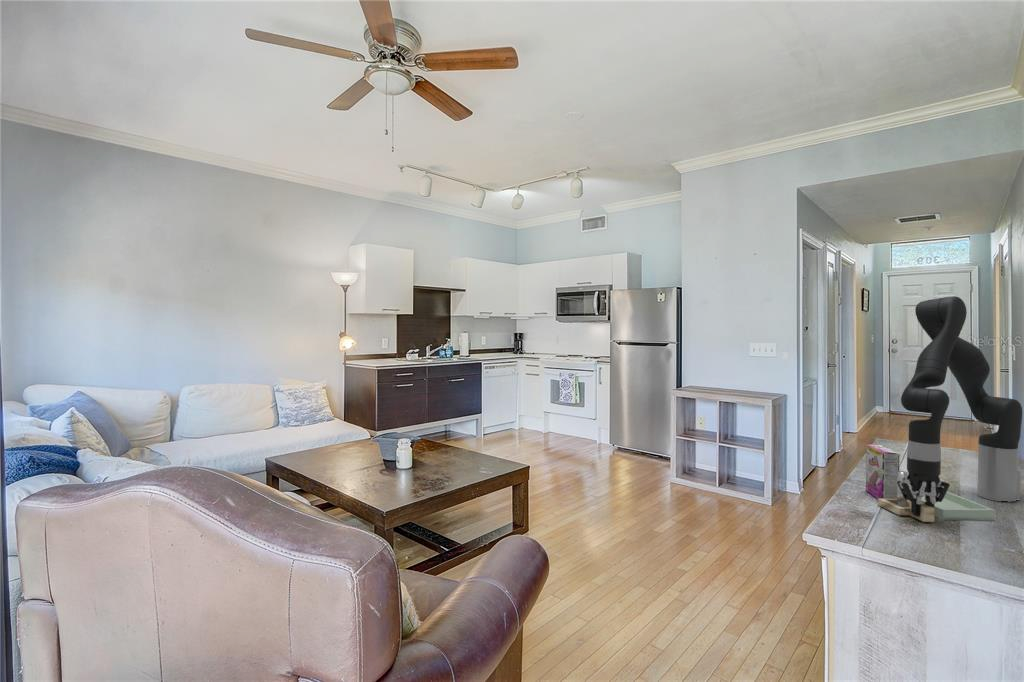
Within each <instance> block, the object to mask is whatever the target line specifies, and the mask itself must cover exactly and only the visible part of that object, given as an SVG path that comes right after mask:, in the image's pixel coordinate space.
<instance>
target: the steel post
mask: <svg viewBox="0 0 1024 682" xmlns="http://www.w3.org/2000/svg"><path fill="white" fill-rule="evenodd" d="M907 476H908V471H904V470H899V471H898V481H904V480H906V479H907ZM898 481H897V482H898ZM897 505H898V506H900V507H907V500H906V499H904V497H903V495H902V493H901V490H900V488H899V486H898V484H897Z"/></svg>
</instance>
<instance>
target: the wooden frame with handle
mask: <svg viewBox="0 0 1024 682" xmlns="http://www.w3.org/2000/svg"><path fill="white" fill-rule="evenodd" d="M920 504H921V516H920V517H917V516H915V515H913V513H912V512H911V502H910V501H908V500H907V507H900V506H898V505H897V499H881V498H878V499H877V506H879V507H881V508H883V509H885V510H888V511H890V512H892V513H894V514H896V515H898V516H910V517H912V518H915V519H917V520H919V521H921V522H923V523H925V522H926V523H929V522H931V523H935V516H934V508H933V507H930V506H928V505H926V504H924V503H920Z"/></svg>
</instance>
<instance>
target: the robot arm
mask: <svg viewBox="0 0 1024 682" xmlns="http://www.w3.org/2000/svg"><path fill="white" fill-rule="evenodd" d="M914 313H915V316H916V320H917V321H918V323H919V325H920V326H921V328H922V329H923V331H925V333H926V334H927V336H928V337H929V338H930V340H931V342H930V343H929V344H927V345H926V347H925V348H923V350H922V351H921V352H920V354H919V355H918V358H917V362H916V364H915V365H916V367H915V370H914V374H913V377H912V378H911V380H910V382H909V383H908V384H907V386H906V387H905V388H904V390H903V392H902V394H901V396H900V403H901V405H902V407H903V409H905V410H906V411H909V412H914V413H924V414H925V413H926V414H930V417H929V418H927V419H915V420H911V421H910V422H909V424H908V442H907V447H906V449H907V450H906V470H907V473H908V476H907V479H906V480H904V481H898V482H897V484H898V486H899V488H900V490H901V493H902V495H903V497H904V499H906V500H908V501H910V502H911V512H912V513H913V515H915V516H917V517H920V516H921V504H920V503H921V498H922V497H923V496H925V501H926V502H925V504H926V505H928V506H930V507H933V508H934V505H935V504H936V502H942V500H943V498H944V496H945V494H946V492H948V490H949V488H950V483H949V482H946V481H943V480H941V479H940V476H941V473H942V471H941V469H942V467H941V466H942V465H941V464H942V449H941V430H942V429H941V427H942V423H943V420H944V417H945V415H946V412H947V411H948V408H949V405H950V397H949V394H948V393H947V392H946V391H945V390H942V389H937V388H934V387H939V386H942V385H943V384H944V383H945V382H946V377H947V372H948V369H949V370H950V372H951V374H952V375H953V377H954V378H955V380H956V381H957V383H958V385H959V387H960V388H961V391H962V393H963V395H964V396H965V399H966V402H967V404H968V407H969V410H970V412H971V413H972V415H973V417H974V418H975V419H976V420H977V421H978V422H980V423H982V424H987V425H988V424H989V425H992V426H993V425H994V426H998V429H997V431H996V432H993V433H985V434H981V435H979V437H978V449H977V450H978V451H977V452H978V455H977V456H978V457H977V485H976V486H977V490H976V494H977V496H978V497H981V498H984V499H987V500H991V501H996V502H1001V501H1008V502H1007V503H1010V502H1009V501H1015V500H1017V499H1020V500H1021V471H1019V470H1018V466H1019V465H1018V463H1019V462H1018V458H1019V457H1018V456H1019V453H1018V452H1019V442H1020V439H1021V432H1022V431H1021V430H1022V421H1023V407H1022V404H1021V403H1020V402H1019V400H1017V399H1015V398H1010V397H1002V396H1001V397H999V396H991V395H989V394H988V393H987V392H986V390H985V388H984V386H985V385H984V384H985V383H986V381H987V379H988V377H989V375H990V372H991V367H990V365H989V362H988V360H987V359H986V357H985V355H984V353H983V352H982V350H980V348H979V347H977V346H976V345H974V344H972V343H971V342H969V341H967V340H965V339H963V338H961V337H960V334H961V331H962V329H963V328H964V325H965V322H966V319H967V306H966V303H965V302H964V300H963V299H962V298H961V297H959V296H955V295H953V296H945V297H944V296H943V297H939V298H933V299H927V300H922V301H920V302H918V303H917V304H916V305H915V312H914ZM916 491H918V492H916ZM939 493H940V494H939ZM938 494H939V496H938ZM937 496H938V497H937Z"/></svg>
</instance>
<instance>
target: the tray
mask: <svg viewBox="0 0 1024 682" xmlns="http://www.w3.org/2000/svg"><path fill="white" fill-rule="evenodd" d="M916 492H918V491H916ZM939 494H940V493H939ZM939 494H938V496H939ZM938 496H937V497H938ZM925 502H926V501H925V496H923V497H922V498H921V503H924V504H925ZM934 518H937V519H940V520H941V521H996V509H993V508H990V507H988V506H987V505H983V504H981V503H978V502H975V501H972V500H971V499H968V498H966V497H962V496H960V495H957V494H955V493H952V492H949V491H947V492H946V494H945V496H944V498H943V500H942V502H936V504H935V505H934Z"/></svg>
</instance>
